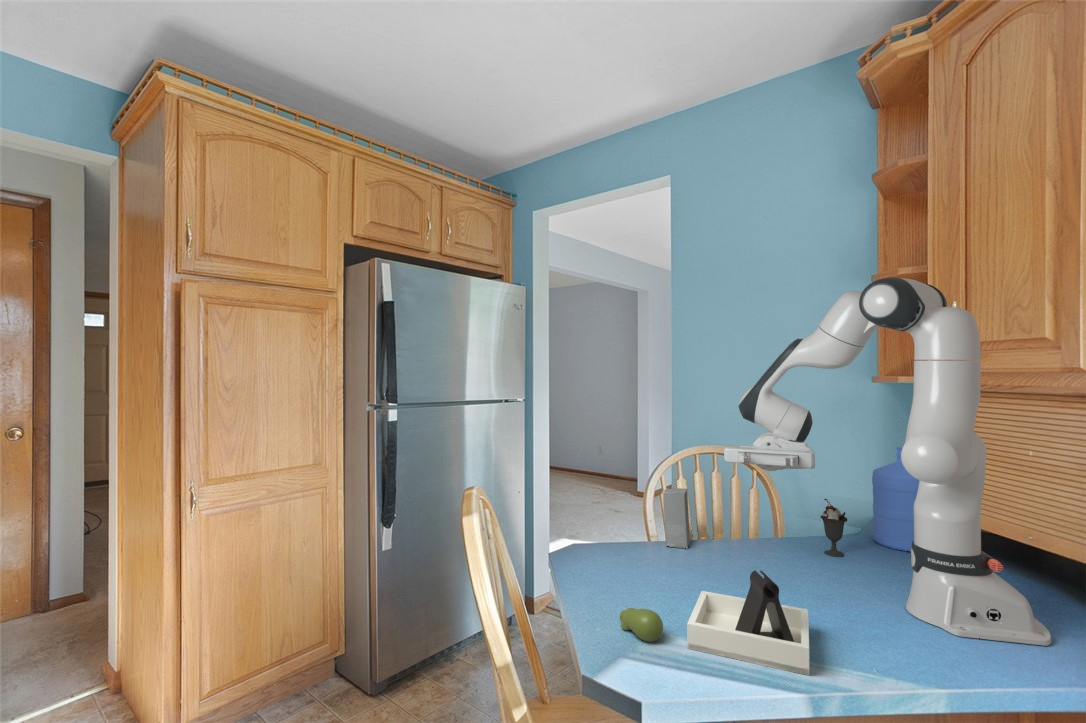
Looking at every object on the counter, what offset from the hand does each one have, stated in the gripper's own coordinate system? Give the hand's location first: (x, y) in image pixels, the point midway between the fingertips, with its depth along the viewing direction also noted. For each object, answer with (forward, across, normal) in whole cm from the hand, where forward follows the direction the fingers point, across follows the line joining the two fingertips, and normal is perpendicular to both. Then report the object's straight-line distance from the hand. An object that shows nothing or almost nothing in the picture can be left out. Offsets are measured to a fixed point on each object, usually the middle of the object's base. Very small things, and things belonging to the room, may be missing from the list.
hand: (766, 461), depth 121 cm
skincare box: (-25, -26, +30) cm, 47 cm away
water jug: (-53, +34, +30) cm, 70 cm away
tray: (+25, -2, +30) cm, 39 cm away
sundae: (-35, +15, +30) cm, 49 cm away
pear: (+32, -21, +30) cm, 49 cm away
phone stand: (+27, +1, +29) cm, 40 cm away
